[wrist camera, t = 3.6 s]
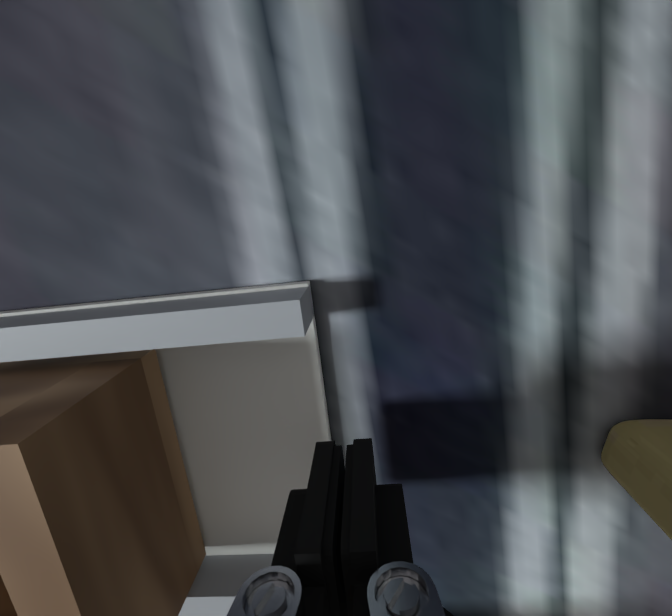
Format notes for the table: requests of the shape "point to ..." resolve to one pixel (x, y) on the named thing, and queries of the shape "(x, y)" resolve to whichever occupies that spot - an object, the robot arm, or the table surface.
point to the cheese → (643, 465)
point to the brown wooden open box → (93, 490)
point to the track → (213, 404)
